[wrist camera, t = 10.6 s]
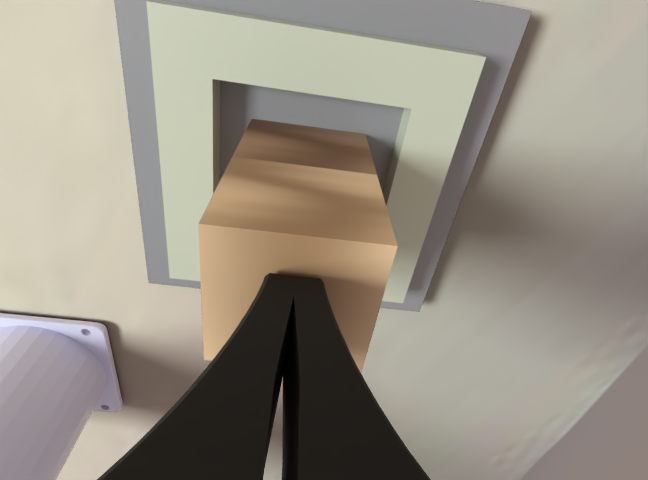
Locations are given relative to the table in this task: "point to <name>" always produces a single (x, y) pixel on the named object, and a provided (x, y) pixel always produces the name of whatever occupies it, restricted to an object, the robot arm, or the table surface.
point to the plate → (312, 107)
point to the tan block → (296, 229)
